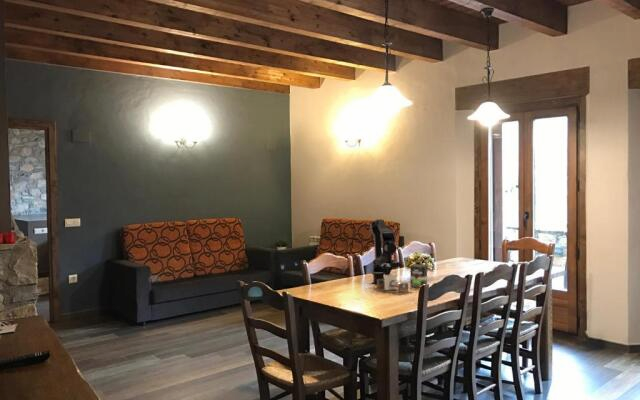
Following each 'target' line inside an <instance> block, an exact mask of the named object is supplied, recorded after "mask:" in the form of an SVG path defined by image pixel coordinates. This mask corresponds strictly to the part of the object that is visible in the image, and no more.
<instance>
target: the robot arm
mask: <svg viewBox="0 0 640 400" xmlns="http://www.w3.org/2000/svg"><path fill="white" fill-rule="evenodd" d="M369 230H370V232H371V235H372V236H373V242H374V245H373V246H374V260H373V262H372V266H371V270H370V272H371V275H373V279H372V280H373V281H372V282H371V284H373V285H377V279H383V278H385V275H389V274H391V272H392V270H393V269H394V268H401V267H402V262H400V261H394V259H393V256H394V254H395V253H396V252H397V246H396V245H395V244H394V243H396V236H395V233H394V231H393V230H392V229H390V228H388V227H387V225H386V222H385V220H384V219H382V218H381V219H375V220H374V221H372V222H370V225H369Z"/></svg>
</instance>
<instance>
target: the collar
mask: <svg viewBox="0 0 640 400" xmlns="http://www.w3.org/2000/svg"><path fill="white" fill-rule="evenodd" d="M384 278H385V290H393V289H397V287H393V286H390V281H394V282H397V274H395V273H390V274H389V275H385V274H384Z"/></svg>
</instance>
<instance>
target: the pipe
mask: <svg viewBox="0 0 640 400" xmlns="http://www.w3.org/2000/svg"><path fill="white" fill-rule="evenodd" d="M400 283H401V281H400V282H399V281H396V282H394V281H390V286H393V287H396V289H399V284H400ZM381 284H384V285H385V280H384V279H382V280H381ZM403 287H406V284H405V285H404V284H403ZM404 289H405V288H404ZM396 292H399V291H396ZM392 293H395V292H392ZM392 293H391V294H392Z"/></svg>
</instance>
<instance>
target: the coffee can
mask: <svg viewBox="0 0 640 400" xmlns="http://www.w3.org/2000/svg"><path fill="white" fill-rule="evenodd" d="M409 267H410V281H409V283H410V285H409V286H410V289H411V290H415V291H416V290H417V291H420V290H419V288H420V286H421V285H423V284H427V285H428V265H427V264H422V263H421V264H420V263H418V264H417V263H416V264H415V263H413V264H410V266H409Z"/></svg>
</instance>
